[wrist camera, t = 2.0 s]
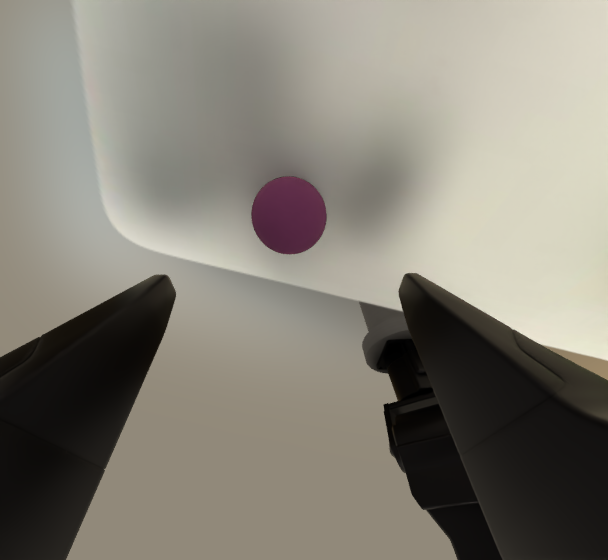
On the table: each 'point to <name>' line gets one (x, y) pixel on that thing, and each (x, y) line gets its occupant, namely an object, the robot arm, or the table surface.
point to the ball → (289, 215)
